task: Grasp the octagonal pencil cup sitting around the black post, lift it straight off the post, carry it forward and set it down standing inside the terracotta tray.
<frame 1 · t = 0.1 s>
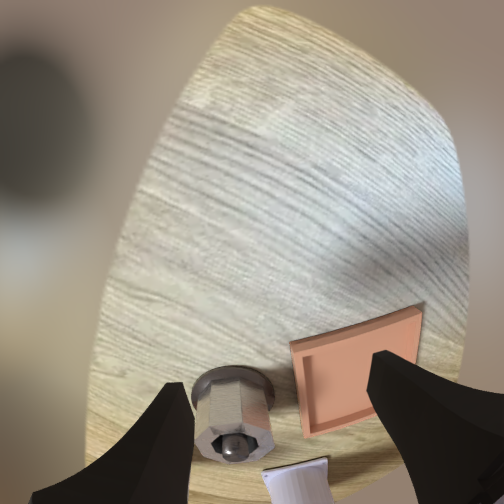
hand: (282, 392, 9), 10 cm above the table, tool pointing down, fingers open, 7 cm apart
octagonal pencil cup: (233, 400, 21), resting on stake
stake: (232, 396, 21), on the table
tray: (356, 375, 22), on the table
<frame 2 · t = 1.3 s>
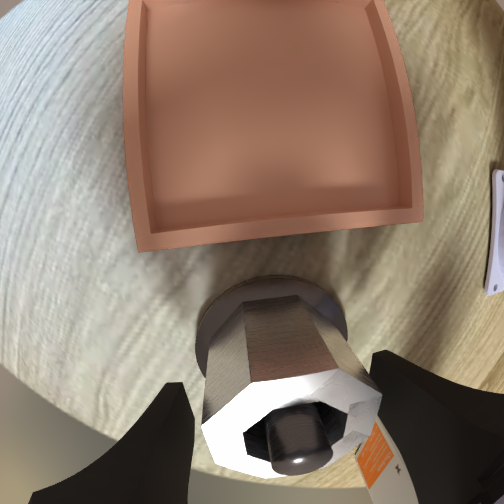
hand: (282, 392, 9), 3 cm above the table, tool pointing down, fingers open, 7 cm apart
octagonal pencil cup: (274, 352, 12), resting on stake
skincare box: (385, 428, 15), on the table
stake: (272, 346, 12), on the table
tray: (273, 91, 10), on the table
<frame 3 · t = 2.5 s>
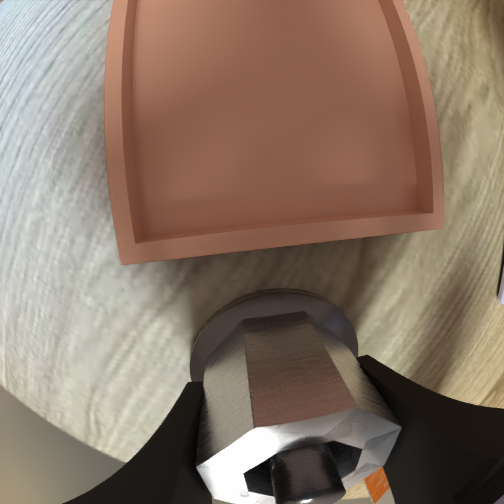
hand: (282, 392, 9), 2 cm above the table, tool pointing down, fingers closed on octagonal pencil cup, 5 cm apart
octagonal pencil cup: (277, 372, 10), resting on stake, touching gripper
skincare box: (391, 441, 14), on the table
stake: (275, 365, 11), on the table
tray: (278, 79, 8), on the table
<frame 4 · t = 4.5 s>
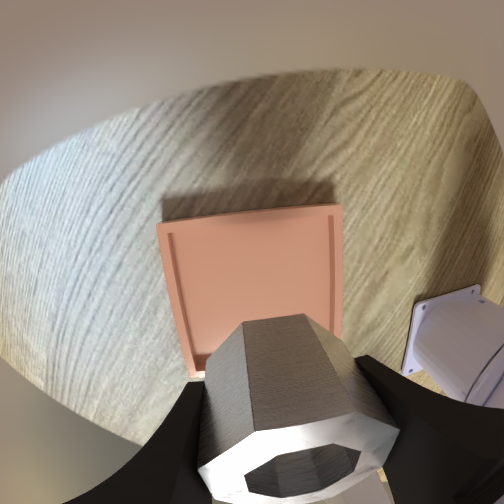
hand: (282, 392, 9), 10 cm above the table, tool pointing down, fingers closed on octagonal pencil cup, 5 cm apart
octagonal pencil cup: (277, 374, 10), point 9 cm above the table, touching gripper
skincare box: (333, 446, 24), on the table
tray: (257, 293, 19), on the table
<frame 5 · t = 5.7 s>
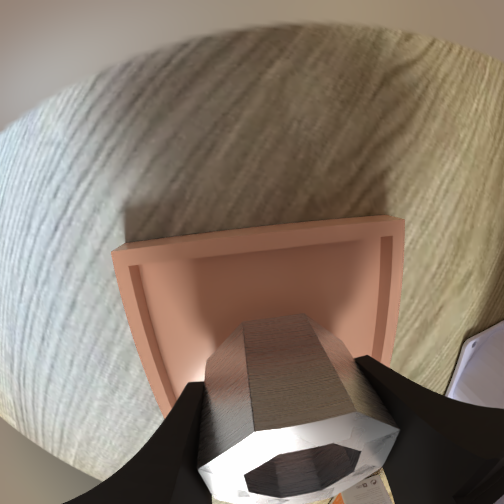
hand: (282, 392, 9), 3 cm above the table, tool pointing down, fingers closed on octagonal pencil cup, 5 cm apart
octagonal pencil cup: (277, 373, 10), point 2 cm above the table, touching gripper
skincare box: (350, 489, 18), on the table
tray: (271, 347, 12), on the table
when the fingers open (3 cm above the table, at t = 6.7 s): octagonal pencil cup drops 1 cm, resting on tray.
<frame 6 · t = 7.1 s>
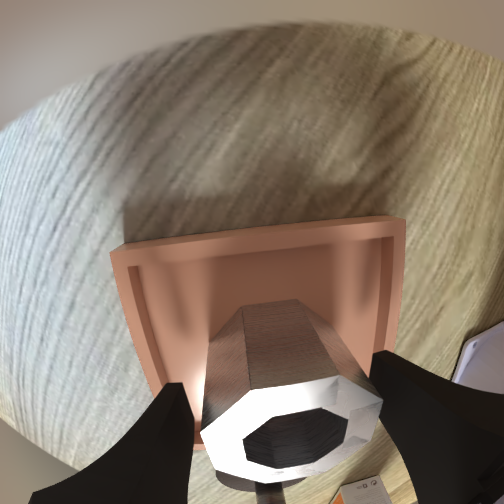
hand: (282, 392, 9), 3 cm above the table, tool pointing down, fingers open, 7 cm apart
octagonal pencil cup: (273, 356, 12), resting on tray
skincare box: (350, 490, 18), on the table
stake: (265, 468, 15), on the table
tray: (271, 348, 12), on the table
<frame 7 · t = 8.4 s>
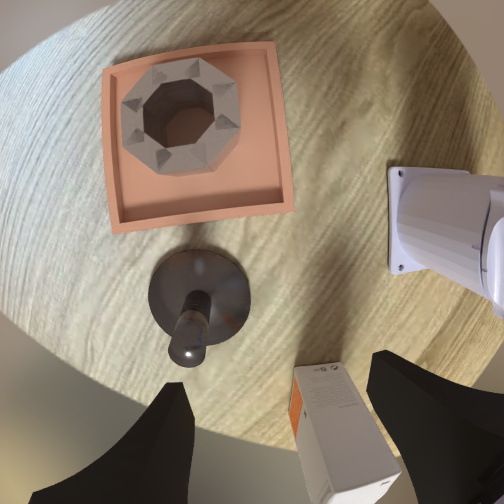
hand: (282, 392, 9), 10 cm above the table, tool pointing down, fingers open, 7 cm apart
octagonal pencil cup: (192, 132, 15), resting on tray
skincare box: (312, 388, 22), on the table
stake: (199, 299, 19), on the table
tray: (192, 132, 16), on the table
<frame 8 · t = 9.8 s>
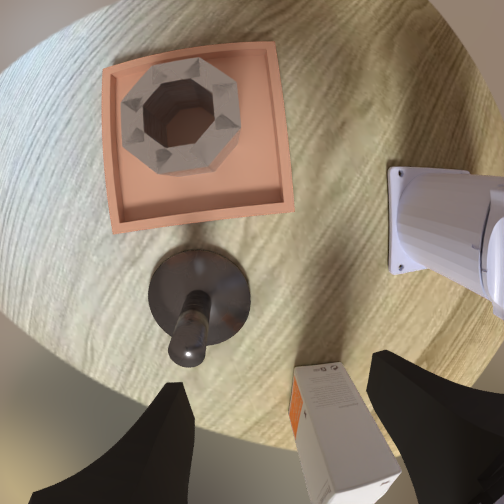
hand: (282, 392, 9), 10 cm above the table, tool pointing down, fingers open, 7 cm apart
octagonal pencil cup: (192, 132, 15), resting on tray
skincare box: (312, 388, 22), on the table
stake: (199, 299, 19), on the table
tray: (192, 132, 16), on the table
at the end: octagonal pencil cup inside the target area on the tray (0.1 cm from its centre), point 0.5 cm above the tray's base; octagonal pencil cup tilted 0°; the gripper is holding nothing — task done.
